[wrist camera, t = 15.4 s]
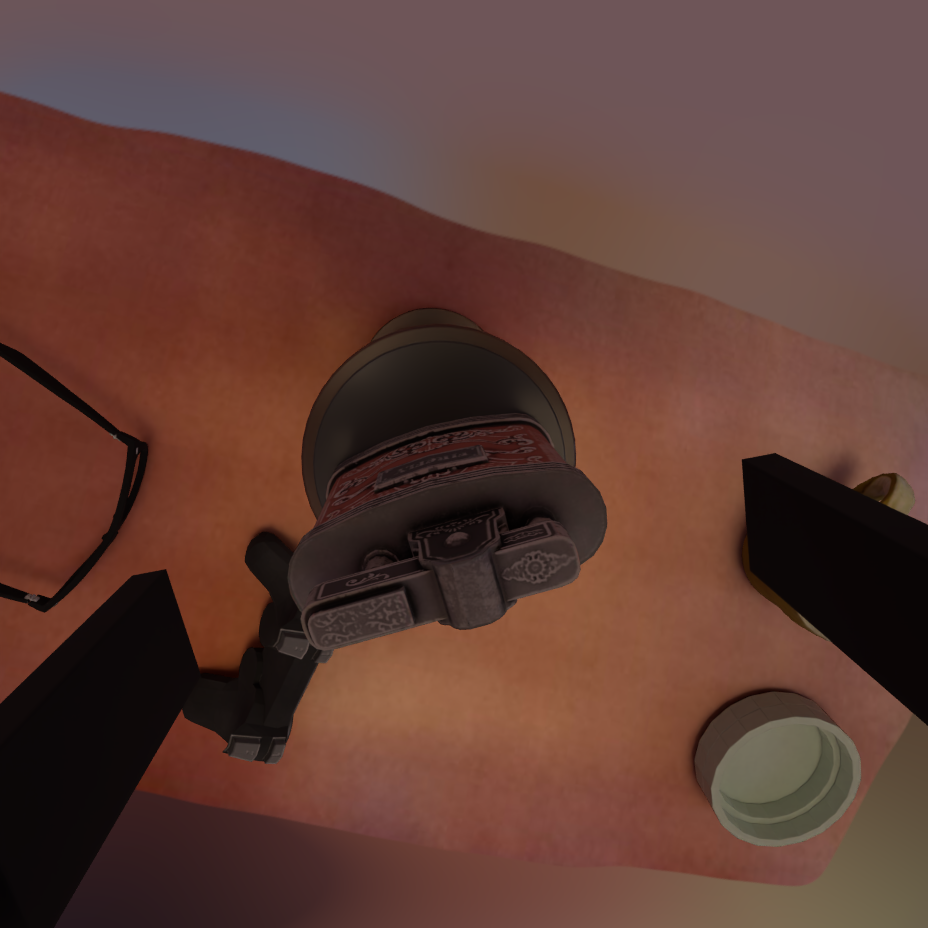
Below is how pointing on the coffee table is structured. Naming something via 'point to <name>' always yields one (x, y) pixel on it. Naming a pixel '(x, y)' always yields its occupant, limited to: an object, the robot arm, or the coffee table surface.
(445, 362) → the stand
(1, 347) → the glasses
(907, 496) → the mug
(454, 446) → the lighter
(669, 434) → the coffee table surface
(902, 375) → the coffee table surface
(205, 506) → the coffee table surface
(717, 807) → the bowl
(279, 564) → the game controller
